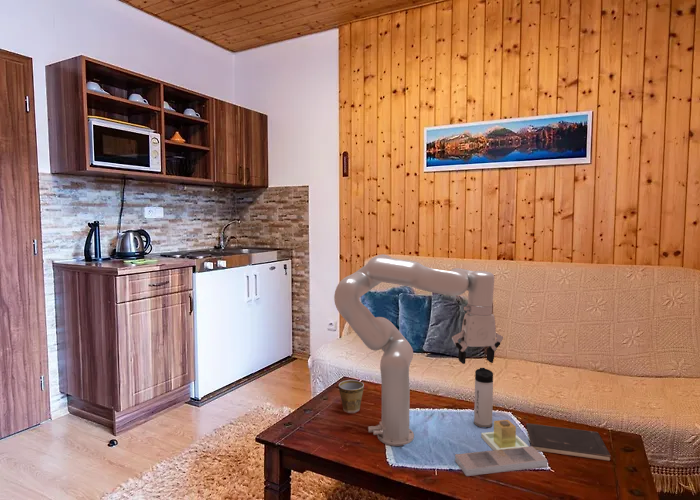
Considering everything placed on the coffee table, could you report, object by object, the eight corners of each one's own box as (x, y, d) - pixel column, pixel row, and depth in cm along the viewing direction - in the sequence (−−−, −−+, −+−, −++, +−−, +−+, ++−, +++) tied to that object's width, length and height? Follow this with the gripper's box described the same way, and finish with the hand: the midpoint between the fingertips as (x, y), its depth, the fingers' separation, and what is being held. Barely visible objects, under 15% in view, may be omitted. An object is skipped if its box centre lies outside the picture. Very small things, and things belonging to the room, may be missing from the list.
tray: (497, 456, 136) (497, 450, 136) (481, 438, 147) (481, 432, 147) (529, 452, 138) (529, 446, 138) (510, 435, 149) (511, 429, 149)
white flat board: (466, 477, 126) (466, 469, 125) (455, 462, 133) (455, 454, 133) (547, 468, 130) (547, 460, 130) (531, 453, 138) (531, 446, 138)
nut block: (501, 448, 140) (501, 427, 139) (493, 440, 145) (494, 419, 144) (515, 447, 141) (515, 425, 140) (507, 439, 145) (507, 418, 145)
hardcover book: (610, 463, 133) (611, 456, 133) (530, 451, 140) (531, 445, 140) (597, 437, 149) (597, 431, 148) (525, 428, 155) (526, 422, 155)
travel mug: (489, 419, 160) (490, 367, 159) (493, 428, 154) (495, 374, 152) (472, 419, 161) (473, 367, 159) (475, 427, 154) (477, 373, 153)
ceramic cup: (364, 415, 165) (364, 389, 164) (338, 415, 165) (338, 389, 164) (363, 400, 178) (363, 377, 177) (339, 400, 178) (339, 377, 177)
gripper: (459, 313, 132) (456, 367, 133) (510, 312, 135) (506, 365, 137) (449, 307, 139) (446, 358, 141) (498, 307, 142) (494, 357, 144)
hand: (475, 361), depth 139 cm, fingers open, 9 cm apart
